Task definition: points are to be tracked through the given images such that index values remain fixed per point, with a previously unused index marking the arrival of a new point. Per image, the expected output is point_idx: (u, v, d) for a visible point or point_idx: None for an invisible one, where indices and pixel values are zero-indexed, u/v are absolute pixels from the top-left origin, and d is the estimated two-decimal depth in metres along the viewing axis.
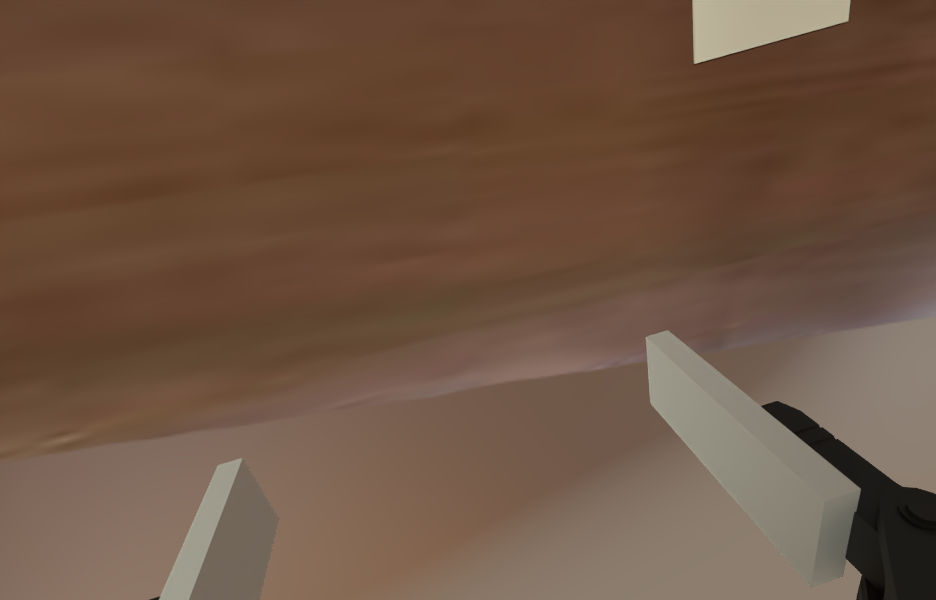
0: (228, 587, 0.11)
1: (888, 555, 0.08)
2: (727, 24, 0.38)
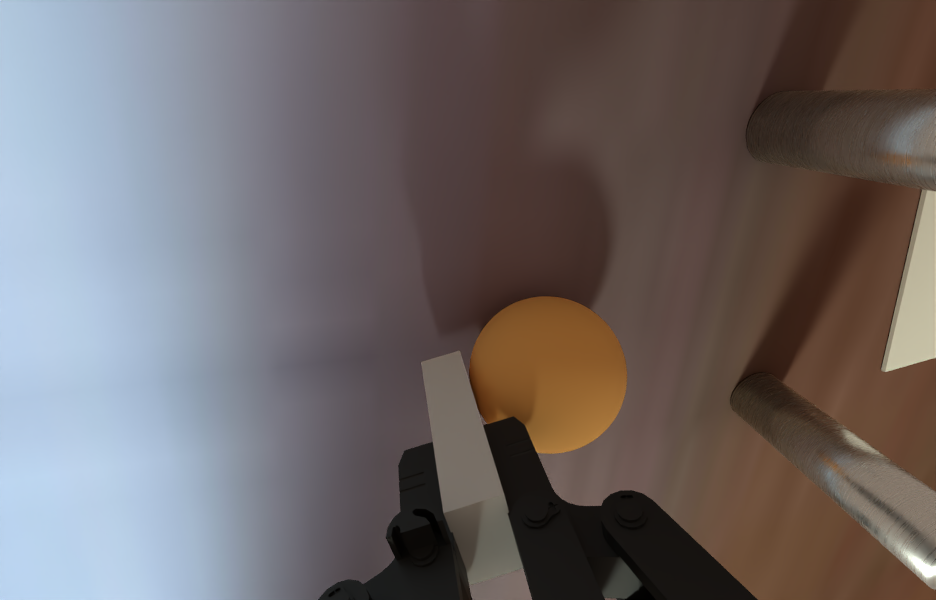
0: None
1: (524, 568, 0.09)
2: None
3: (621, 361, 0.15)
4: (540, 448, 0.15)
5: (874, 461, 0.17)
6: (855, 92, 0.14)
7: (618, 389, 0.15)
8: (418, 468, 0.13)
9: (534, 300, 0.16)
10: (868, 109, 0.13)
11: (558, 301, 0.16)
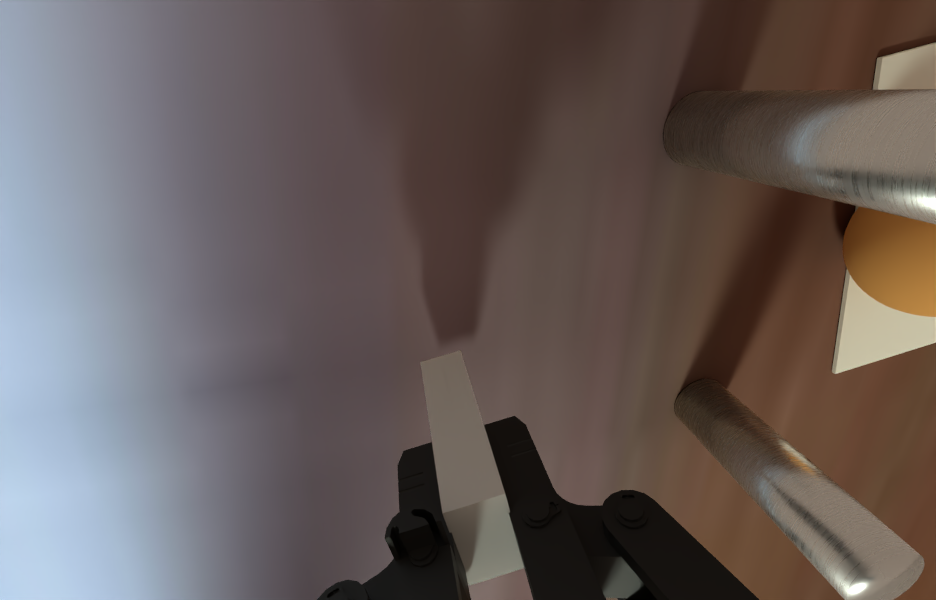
0: None
1: (525, 568, 0.09)
2: None
3: None
4: None
5: (803, 474, 0.16)
6: (757, 93, 0.13)
7: None
8: (417, 468, 0.13)
9: None
10: (764, 112, 0.12)
11: None
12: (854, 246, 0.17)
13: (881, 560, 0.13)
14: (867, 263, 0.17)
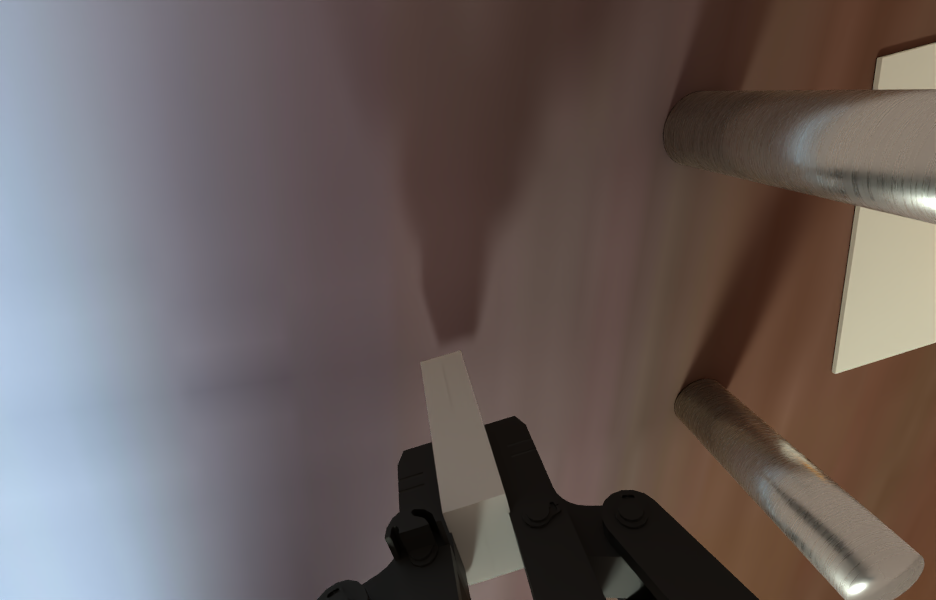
0: None
1: (525, 568, 0.09)
2: None
3: None
4: None
5: (803, 474, 0.16)
6: (757, 93, 0.13)
7: None
8: (417, 468, 0.13)
9: None
10: (764, 112, 0.12)
11: None
12: None
13: (881, 560, 0.13)
14: None
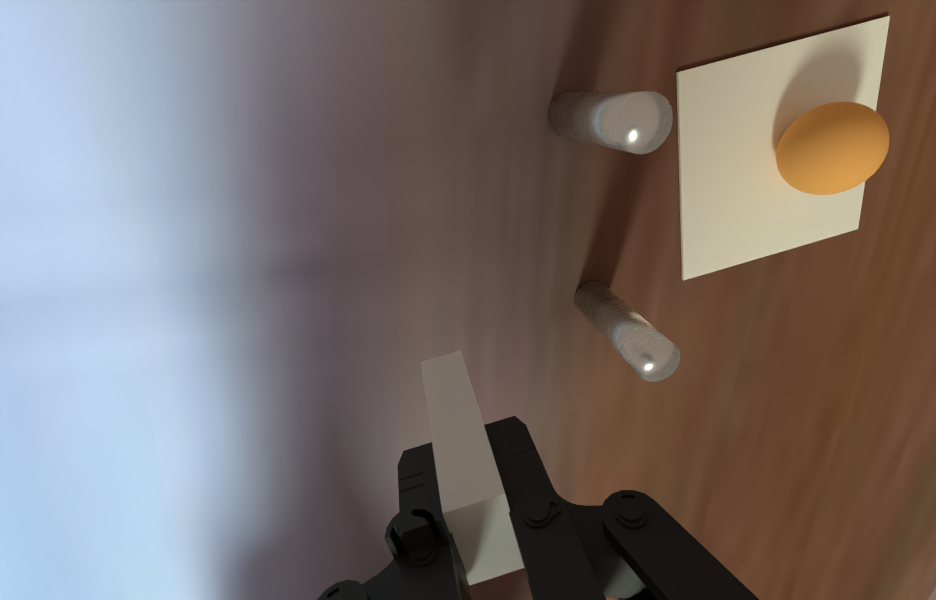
0: None
1: (526, 568, 0.09)
2: (835, 199, 0.33)
3: (778, 144, 0.29)
4: None
5: (629, 317, 0.27)
6: (583, 93, 0.24)
7: (777, 150, 0.30)
8: (417, 468, 0.13)
9: (839, 104, 0.27)
10: (580, 103, 0.23)
11: (822, 109, 0.27)
12: None
13: (651, 346, 0.24)
14: None
